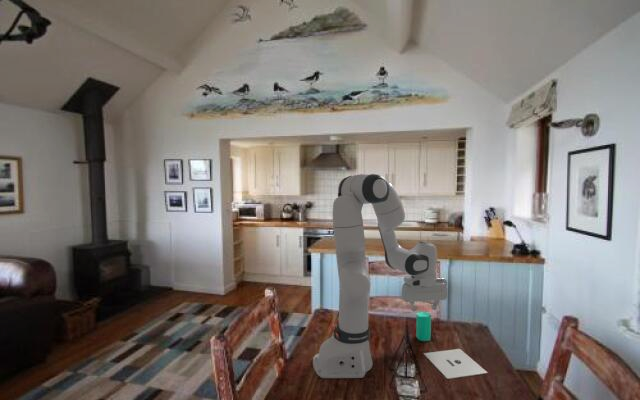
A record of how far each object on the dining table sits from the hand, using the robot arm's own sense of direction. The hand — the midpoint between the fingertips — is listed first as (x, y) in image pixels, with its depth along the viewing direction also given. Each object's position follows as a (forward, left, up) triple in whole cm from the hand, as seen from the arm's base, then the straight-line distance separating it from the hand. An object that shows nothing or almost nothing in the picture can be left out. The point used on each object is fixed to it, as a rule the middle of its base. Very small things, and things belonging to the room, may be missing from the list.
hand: (423, 310), depth 137 cm
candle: (0, 0, -13) cm, 13 cm away
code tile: (+1, -20, -12) cm, 23 cm away
